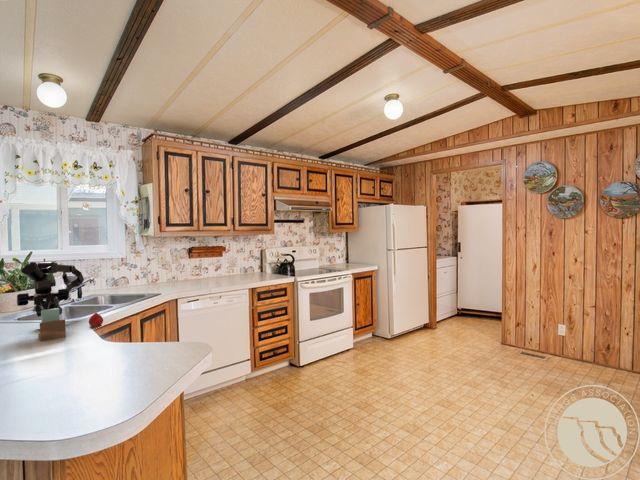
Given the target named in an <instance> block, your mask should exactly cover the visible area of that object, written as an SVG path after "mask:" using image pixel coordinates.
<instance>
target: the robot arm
mask: <svg viewBox="0 0 640 480" xmlns="http://www.w3.org/2000/svg"><path fill="white" fill-rule="evenodd" d="M21 272H22V273H23V275H25V277H27V278H28V279H29V280H31V281H33V285H34V287H33V288H34V294H33V295H29V292H26V293H24V292H23V293H18V294H17V295H16V305H17V306H18V307H19V306H26V305H28V304H29V301H33V305H34V306H35V307H34V310H35V313H36V315H37V317H41V310H47V309H54V308H59V314H60V316H61V314H62V313H63V308H62V307H61V306H60V302H61V301H65V300H68V299H69V296H70V292H71V291H72V290H73V289H74V288H77V287H80V286H82V284H83V283H84V281H85V277H84V275H83V273H82V272H81V271H79V269H77V268H76V266H75V265H74V264H67V265H66V264H58V262H54V261H44V262H43V261H41V262H38V263H37V262H35V261H31V262H29V264H27V265H25V266H24V267H22V269H21ZM56 273H62V276H61V279H62V280H63V283H62V284H61V285H60V286H59V287H58V288H57V289H56V290H55V291H54V292H52V291H53V290H52V287H56V285H57V284H56V283H57V282H56V278H49V274H50V275H51V274H56ZM67 273H72V274H67Z"/></svg>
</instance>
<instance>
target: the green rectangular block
mask: <svg viewBox="0 0 640 480" xmlns="http://www.w3.org/2000/svg"><path fill="white" fill-rule="evenodd" d="M60 316H61V315H60V314H59V308H54V309H47V310H41V316H40V318H41V319H40V320H41V321H40V323H44V322H50V321H56V320H61V317H60Z"/></svg>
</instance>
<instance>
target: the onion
mask: <svg viewBox="0 0 640 480" xmlns="http://www.w3.org/2000/svg"><path fill="white" fill-rule="evenodd" d="M103 323H104V319H103V317H102V316H101V314H98V311H96V312H94V313H93V315H91V316H90V317H89V319H88V324H89V325H90V327H92V328H98V327H100V326H102V325H103Z"/></svg>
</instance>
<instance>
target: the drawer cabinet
mask: <svg viewBox="0 0 640 480" xmlns="http://www.w3.org/2000/svg"><path fill="white" fill-rule="evenodd" d="M37 336H38V337H37V338H38V339H39V341H40V342H41V343H43V342H47V341H48V342H49V341H52V340H57V339H58V340H59V339H62V338H66V337H67V331H66V319H65V318H64V319H60V320H56V321H50V322H44V323H41V322H39V333H38V334H37Z"/></svg>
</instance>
